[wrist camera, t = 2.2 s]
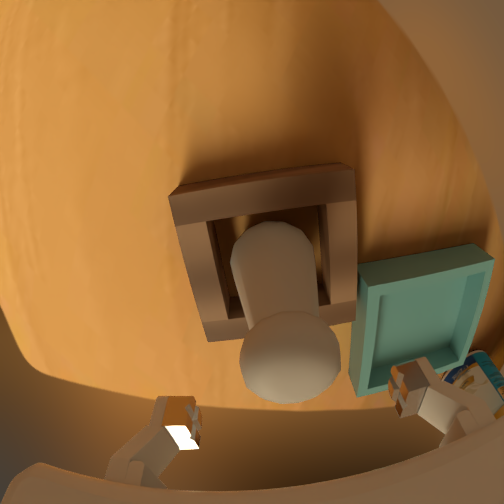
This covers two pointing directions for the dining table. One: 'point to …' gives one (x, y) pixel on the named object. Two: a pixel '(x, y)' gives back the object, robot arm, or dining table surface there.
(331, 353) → the salt shaker
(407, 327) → the tray
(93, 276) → the dining table surface
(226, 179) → the socket collar
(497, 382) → the beverage bottle
